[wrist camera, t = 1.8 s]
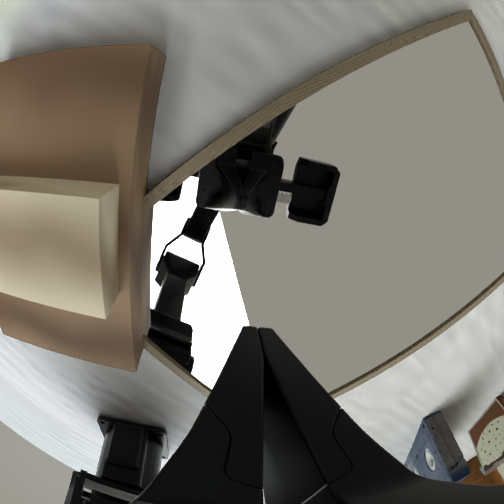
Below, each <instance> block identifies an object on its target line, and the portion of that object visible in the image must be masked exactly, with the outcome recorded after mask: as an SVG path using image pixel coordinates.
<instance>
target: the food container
mask: <svg viewBox="0 0 504 504" xmlns="http://www.w3.org/2000/svg"><path fill="white" fill-rule="evenodd" d="M468 433H469V436H470V438H471V441H472V443H473V446H474V448H475V451H476V453H477V456H478V458H479V461H480V464H481V466H482V467H481V468H480V470H481V471H482V473H484V474H485V475H487V474H489V473H490V472H491V471H493V470H494V469H496V468H497V467H498V466H500V465H501V464H502V463H504V396H499V397H496V398H495V399H494V401H493V402H492V403H491V405H490V406H489V407H488V408H487V409H486V411H485V412H484V413H483V414H482V415H481V417H480V418H479V419H478V420H477V421H476V422H475V424H474V425H473V426H472V427H471V428H470V429H469V430H468Z"/></svg>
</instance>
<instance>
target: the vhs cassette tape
mask: <svg viewBox="0 0 504 504" xmlns="http://www.w3.org/2000/svg"><path fill="white" fill-rule="evenodd" d="M404 466H405V467H407V468H408V469H409V470H411V471H412V472H414V473H416V474H418V475H420V476H423V477H426V478H430V479H435V480H442V481H449V482H456V483H460V482H461V481H463V480H464V479H465V478H466V477H467V476H468V475H470V474H471V472H470V469H469V466H468V464H467V462H466V460H465V459H464V458H463V454H462V452H461V450H460V448H459V446H458V444H457V442H456V440H455V438H454V437H453V434H452V432H451V430H450V429H449V426H448V425H447V423H446V421H445V419H444V417H443V415H442V413H441V412H440V411H438V412H436V413H434V414H432V415H430V416H428V417H426V418H423V419H422V423H421V425H420V428H419V430H418V433H417V435H416V438H415V441H414V443H413V445H412V448H411V450H410V452H409V455H408V457H407V459H406V462H405V464H404Z"/></svg>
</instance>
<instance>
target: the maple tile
mask: <svg viewBox="0 0 504 504" xmlns="http://www.w3.org/2000/svg"><path fill="white" fill-rule="evenodd" d="M118 206H119V184H111V183H101V182H90V181H78V180H66V179H53V178H37V177H20V176H0V292H2V293H5V294H8V295H12V296H15V297H18V298H22V299H25V300H29V301H32V302H36V303H39V304H43V305H47V306H51V307H54V308H58V309H62V310H66V311H71V312H75V313H79V314H83V315H88V316H92V317H97V318H101V319H106V318H107V316H108V314H109V312H110V310H111V308H112V306H113V304H114V302H115V300H116V299H117V297H118V295H119V293H120V289H119V267H118Z"/></svg>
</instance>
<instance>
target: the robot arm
mask: <svg viewBox="0 0 504 504" xmlns="http://www.w3.org/2000/svg"><path fill="white" fill-rule="evenodd" d="M340 408H341V407H340V405H339V404H338V403H337V402H336V401H335V400H334V399H333V398H332V397H331V395H330V394H329V393H328V392H327V391H326V390H325V389H324V388H323V386H322V385H321V384H320V383H319V382H318V381H317V380H316V379H315V377H314V376H313V375H312V374H311V373H310V372H309V371H308V369H307V368H306V367H305V366H304V365H303V364H302V363H301V361H300V360H299V359H298V358H297V357H296V356H295V354H294V353H293V352H292V351H291V350H290V349H289V348H288V346H287V345H286V344H285V343H284V342H283V341H282V339H281V338H280V337H279V336H278V335H277V333H276V332H275V331H274V330H273V329H272V328H265V327H259V328H257V327H255V326H243V327H242V328H241V330H240V333H239V335H238V337H237V339H236V341H235V343H234V345H233V347H232V349H231V351H230V353H229V355H228V357H227V359H226V362H225V364H224V366H223V368H222V370H221V372H220V374H219V376H218V378H217V380H216V382H215V384H214V386H213V388H212V390H211V392H210V394H209V396H208V398H207V400H206V402H205V404H204V406H203V408H202V410H201V412H200V414H199V416H198V417H197V419H196V421H195V423H194V425H193V426H192V428H191V430H190V432H189V433H188V435H187V436H186V437H185V439H184V440H183V442H182V443H181V445H180V446H179V448H178V449H177V450H176V451H175V453H174V454H173V455H172V457H171V458H170V459H169V460H168V462H167V463H166V464H165V466H164V467H163V468H162V469H161V471H160V468H161V459H168V445H167V433H166V431H165V430H163V429H159V428H153V427H148V426H142V425H137V424H132V423H128V422H123V421H119V420H115V419H111V418H107V417H103V416H99V417H98V419H97V422H98V424H99V426H100V429H101V431H102V433H103V436H104V438H105V439H104V443H103V447H102V451H101V455H100V459H99V463H98V467H97V472H96V476H95V475H92V474H89V473H87V471H84V470H82V469H81V472H76V471H73V475H72V478H71V482H70V486H69V490H68V493H67V496H66V500H65V503H64V504H263V491H262V490H263V489H264V496H265V502H266V504H504V484H501V485H476V484H465V483H456V482H449V481H442V480H435V479H430V478H426V477H423V476H420V475H418V474H416V473H414V472H412V471H411V470H409V469H408V468H407V467H405V466H404V465H403V464H402V463H401V462H399V461H398V460H397V459H396V458H394V457H393V456H392V455H391V454H390V453H388V452H387V451H386V450H385V449H384V448H382V447H381V446H380V445H379V444H378V443H377V442H375V441H374V440H373V439H372V438H371V437H370V436H369V435H368V434H367V433H365V432H364V431H363V430H362V429H361V428H360V427H359V426H358V425H357V424H356V423H355V422H354V421H353V419H352V418H351V417H350V416H349V415H348V414H347V413H346V412H345V411H344V410H343V409H340ZM84 488H87V489H89V490H92V492H91V493H89V492H86V491H84Z"/></svg>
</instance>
